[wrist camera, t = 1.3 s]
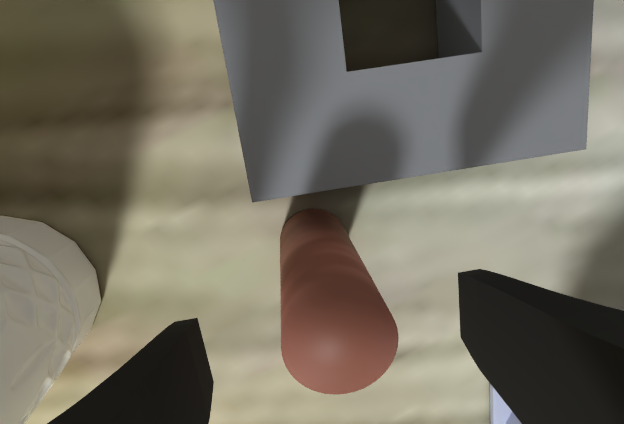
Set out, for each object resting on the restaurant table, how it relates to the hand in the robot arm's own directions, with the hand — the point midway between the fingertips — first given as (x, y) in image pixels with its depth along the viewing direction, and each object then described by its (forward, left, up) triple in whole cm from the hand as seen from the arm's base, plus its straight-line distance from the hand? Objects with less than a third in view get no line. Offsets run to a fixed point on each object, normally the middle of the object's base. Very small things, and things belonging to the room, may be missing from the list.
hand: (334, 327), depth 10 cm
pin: (0, 0, -7) cm, 7 cm away
